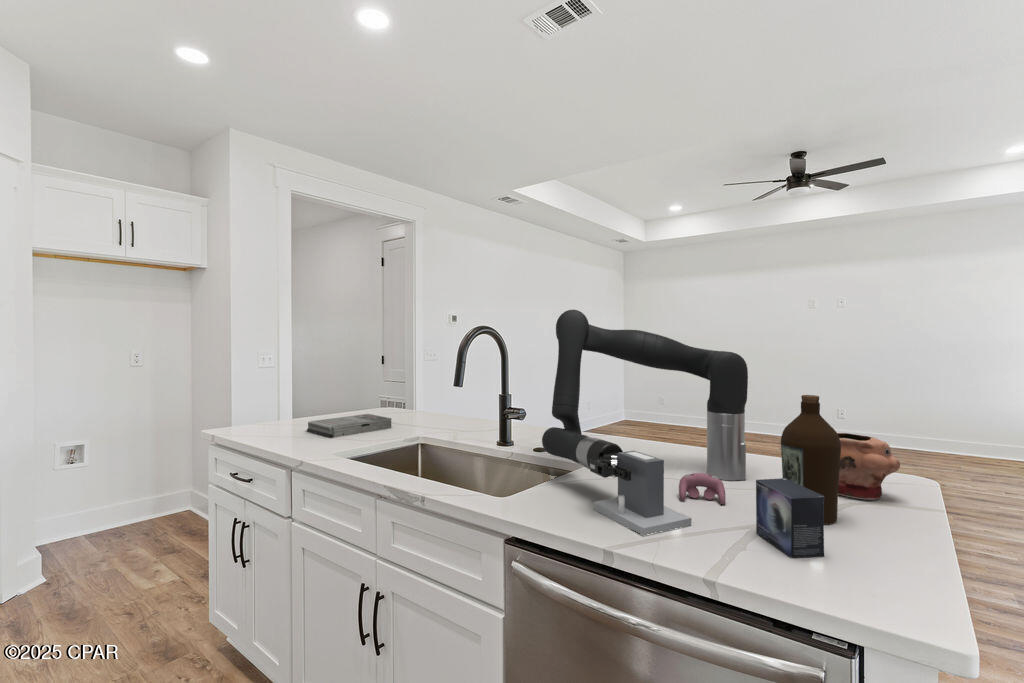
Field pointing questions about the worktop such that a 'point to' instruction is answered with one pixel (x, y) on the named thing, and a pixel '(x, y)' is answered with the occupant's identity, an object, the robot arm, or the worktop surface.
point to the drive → (642, 483)
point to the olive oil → (813, 455)
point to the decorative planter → (864, 466)
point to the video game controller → (702, 480)
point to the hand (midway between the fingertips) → (646, 473)
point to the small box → (790, 517)
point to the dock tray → (641, 517)
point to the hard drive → (348, 425)
